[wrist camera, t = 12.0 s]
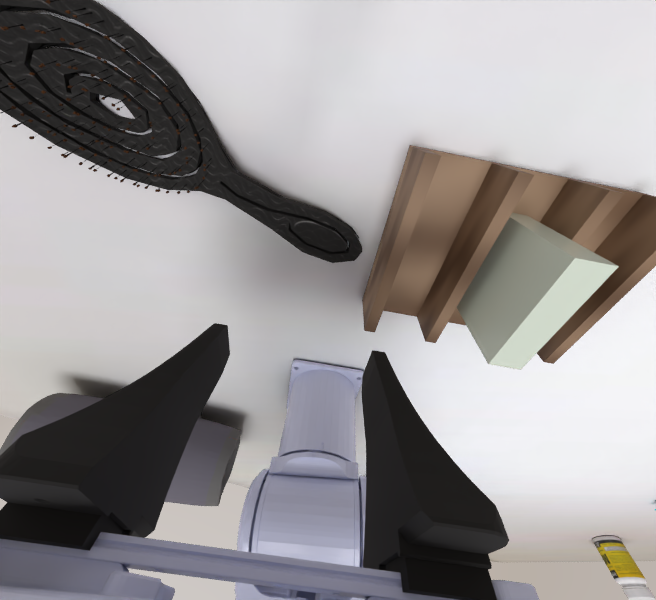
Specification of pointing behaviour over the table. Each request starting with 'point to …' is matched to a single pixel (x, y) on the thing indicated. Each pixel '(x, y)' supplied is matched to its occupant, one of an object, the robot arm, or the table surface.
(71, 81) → the hairbrush
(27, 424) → the bluetooth speaker
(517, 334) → the pale green box
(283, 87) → the table surface
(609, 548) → the supplement bottle
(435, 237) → the dish rack
